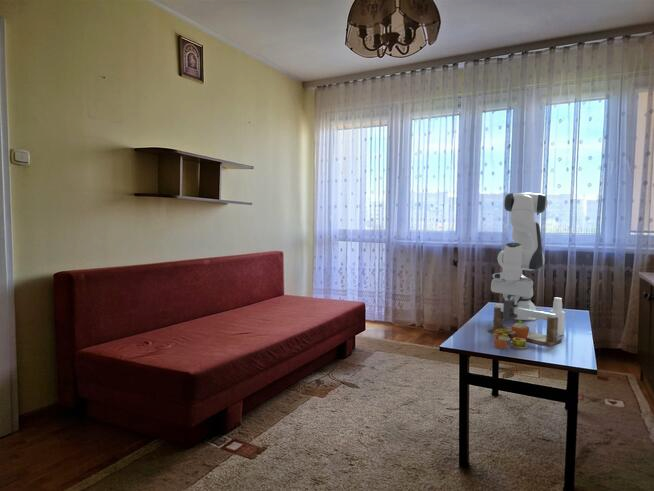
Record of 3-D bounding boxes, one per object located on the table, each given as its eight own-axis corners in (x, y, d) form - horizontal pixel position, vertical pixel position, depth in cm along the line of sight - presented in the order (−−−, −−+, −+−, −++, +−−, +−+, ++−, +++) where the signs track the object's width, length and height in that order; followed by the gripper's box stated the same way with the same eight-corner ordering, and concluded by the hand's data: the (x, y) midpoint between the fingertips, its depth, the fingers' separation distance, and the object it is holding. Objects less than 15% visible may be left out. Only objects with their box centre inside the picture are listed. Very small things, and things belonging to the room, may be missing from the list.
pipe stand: (488, 331, 210) (489, 304, 209) (500, 328, 218) (501, 301, 217) (549, 346, 187) (551, 316, 186) (561, 342, 194) (563, 312, 193)
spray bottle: (551, 331, 213) (552, 296, 212) (565, 333, 209) (567, 298, 207) (546, 333, 209) (548, 297, 207) (561, 336, 204) (563, 299, 203)
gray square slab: (503, 319, 205) (503, 301, 205) (512, 316, 211) (513, 299, 210) (507, 320, 203) (508, 301, 203) (517, 317, 209) (518, 299, 208)
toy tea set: (493, 334, 207) (494, 315, 206) (528, 338, 201) (529, 318, 200) (489, 349, 183) (490, 327, 183) (529, 354, 177) (530, 331, 176)
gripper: (536, 278, 200) (535, 306, 201) (496, 273, 216) (495, 299, 217) (530, 279, 196) (528, 308, 197) (489, 274, 212) (488, 301, 213)
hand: (510, 303), depth 207 cm, fingers closed on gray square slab, 2 cm apart
